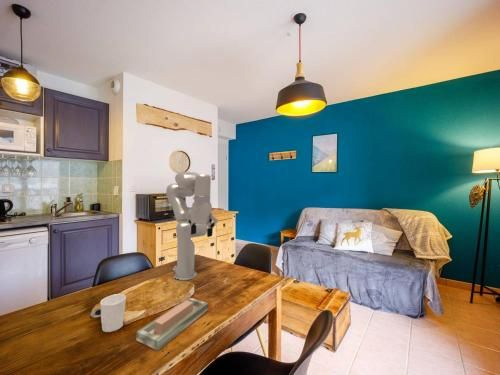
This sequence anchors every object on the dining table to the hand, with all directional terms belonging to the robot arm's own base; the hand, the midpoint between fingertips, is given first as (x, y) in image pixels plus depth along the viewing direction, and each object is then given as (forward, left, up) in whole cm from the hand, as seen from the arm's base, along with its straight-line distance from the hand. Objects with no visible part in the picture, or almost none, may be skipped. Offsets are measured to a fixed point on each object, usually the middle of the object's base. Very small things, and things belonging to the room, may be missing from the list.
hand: (201, 235), depth 107 cm
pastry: (-25, -31, -29) cm, 49 cm away
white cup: (-12, -35, -28) cm, 47 cm away
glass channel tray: (+7, -23, -28) cm, 37 cm away
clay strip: (+7, -24, -27) cm, 37 cm away
